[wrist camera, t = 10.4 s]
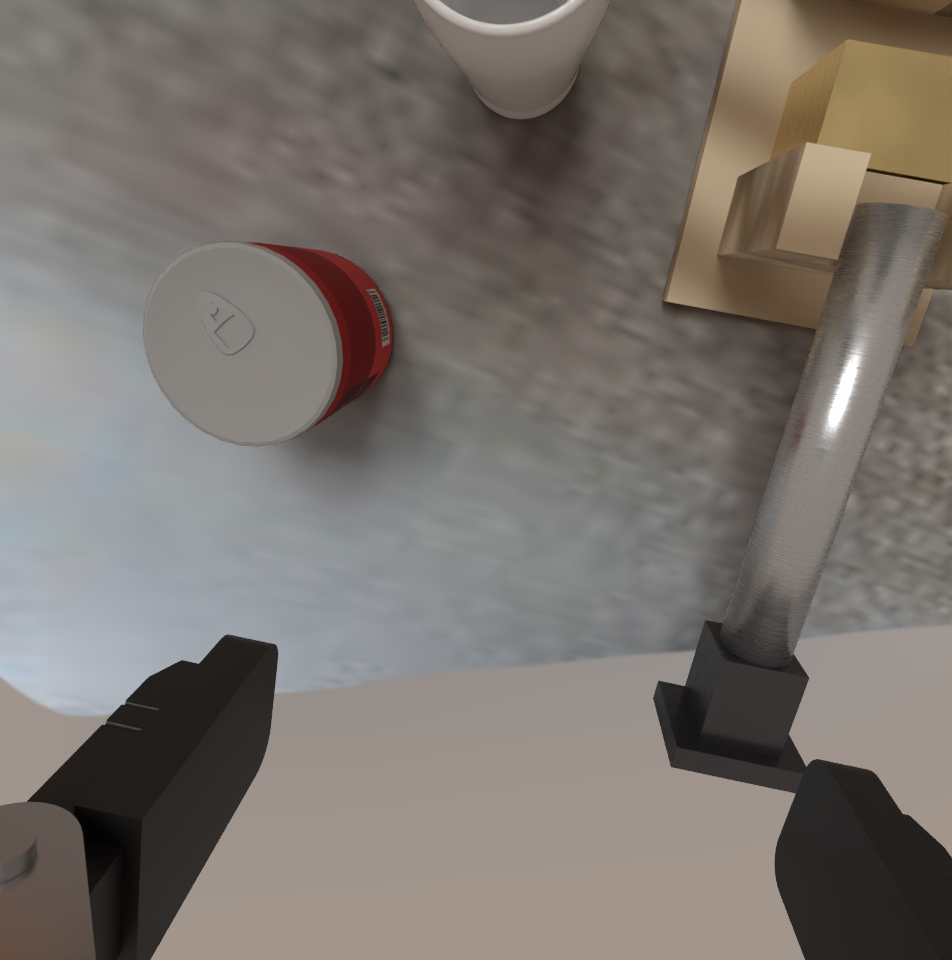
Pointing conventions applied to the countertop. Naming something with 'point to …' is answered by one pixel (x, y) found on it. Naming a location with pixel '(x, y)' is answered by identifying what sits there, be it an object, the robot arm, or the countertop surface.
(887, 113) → the block
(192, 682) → the robot arm
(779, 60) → the block
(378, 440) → the countertop surface
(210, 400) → the canned food
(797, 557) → the shaft
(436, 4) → the drinking glass
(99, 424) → the countertop surface
